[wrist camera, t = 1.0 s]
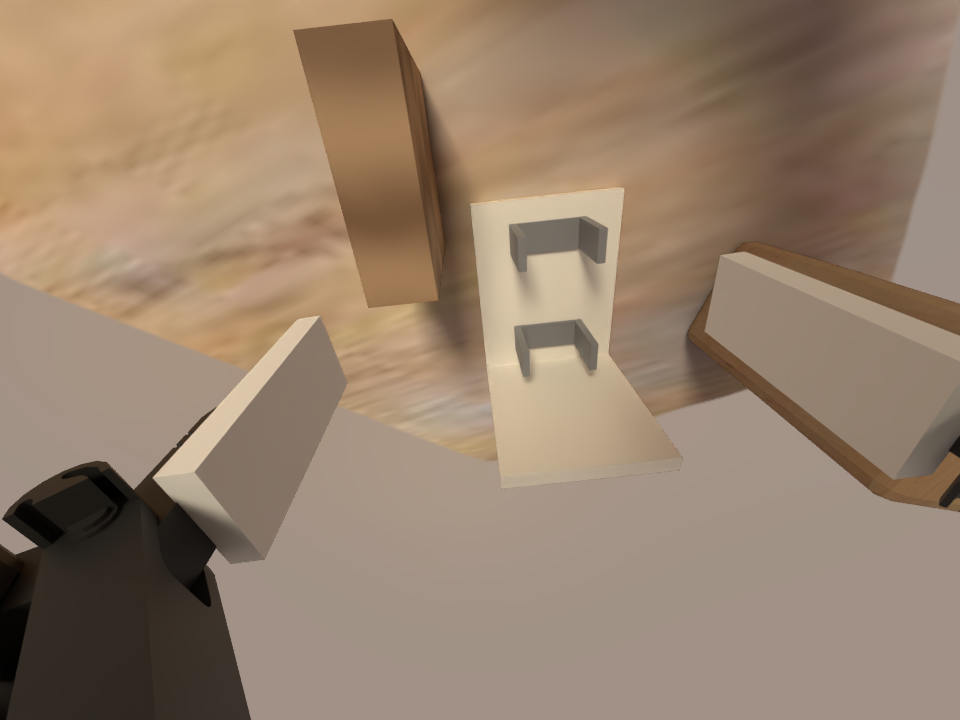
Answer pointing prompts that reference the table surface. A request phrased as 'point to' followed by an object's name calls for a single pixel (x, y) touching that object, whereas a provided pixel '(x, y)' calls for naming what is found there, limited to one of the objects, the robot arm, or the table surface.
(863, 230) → the table surface
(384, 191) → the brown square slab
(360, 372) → the table surface
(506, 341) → the l-bracket with handles
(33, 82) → the table surface
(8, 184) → the table surface
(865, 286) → the wooden block
